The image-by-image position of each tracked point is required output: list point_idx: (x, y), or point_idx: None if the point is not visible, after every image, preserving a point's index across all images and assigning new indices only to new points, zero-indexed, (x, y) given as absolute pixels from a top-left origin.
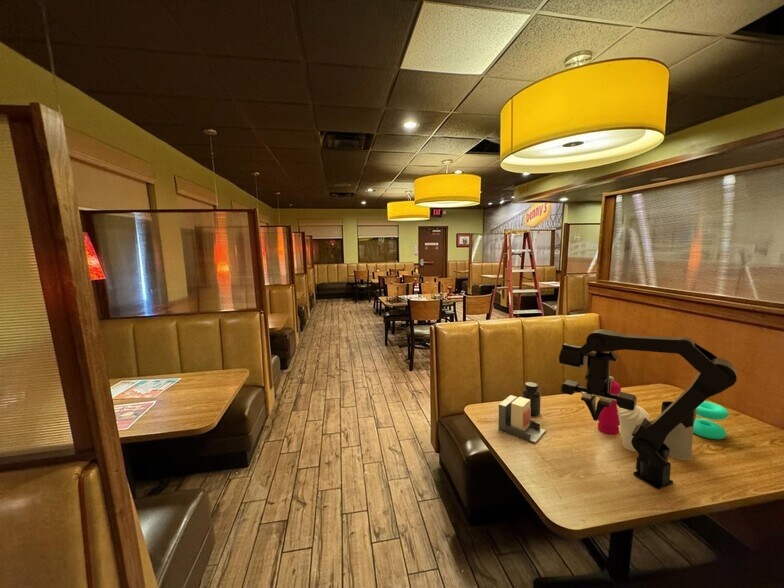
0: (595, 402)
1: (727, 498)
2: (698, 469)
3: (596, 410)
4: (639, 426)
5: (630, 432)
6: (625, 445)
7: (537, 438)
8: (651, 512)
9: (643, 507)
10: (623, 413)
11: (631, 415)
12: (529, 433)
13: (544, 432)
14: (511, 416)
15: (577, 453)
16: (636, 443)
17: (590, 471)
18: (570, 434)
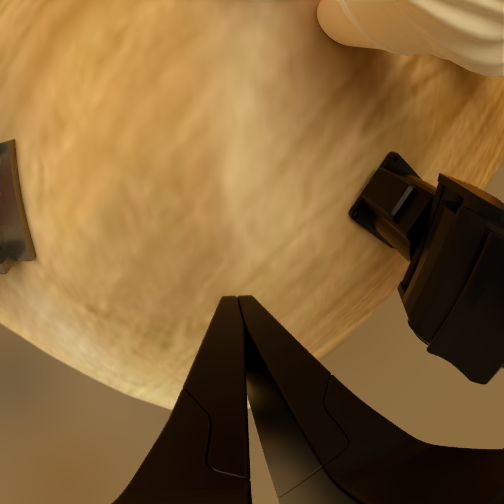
0: (249, 485)
1: (485, 184)
2: (476, 86)
3: (272, 468)
4: (494, 314)
5: (402, 49)
6: (334, 35)
7: (21, 232)
8: (355, 327)
9: (345, 325)
10: (451, 3)
11: (494, 46)
12: (2, 268)
13: (12, 158)
14: None
15: (156, 204)
16: (420, 338)
17: (225, 284)
18: (89, 64)
